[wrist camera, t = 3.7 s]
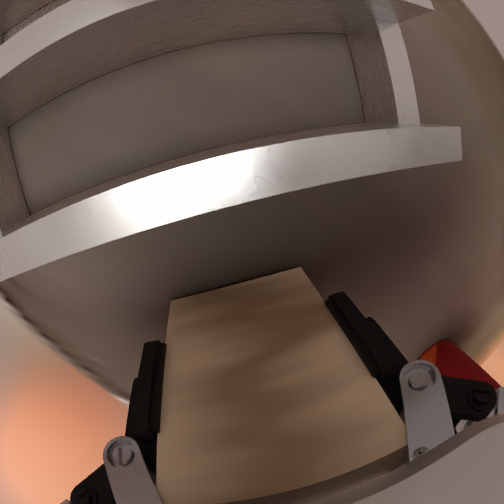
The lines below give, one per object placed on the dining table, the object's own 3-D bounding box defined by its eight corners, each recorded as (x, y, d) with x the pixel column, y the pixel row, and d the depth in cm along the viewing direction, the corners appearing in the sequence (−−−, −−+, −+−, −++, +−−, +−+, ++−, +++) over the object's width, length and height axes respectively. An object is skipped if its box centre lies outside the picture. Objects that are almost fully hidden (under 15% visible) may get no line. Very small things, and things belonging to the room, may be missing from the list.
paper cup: (392, 368, 18) (482, 501, 6) (461, 313, 18) (561, 416, 5) (399, 404, 22) (462, 504, 9) (456, 359, 21) (528, 445, 9)
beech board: (300, 266, 12) (414, 440, 4) (306, 308, 13) (393, 469, 5) (170, 300, 12) (156, 505, 4) (188, 339, 13) (194, 521, 5)
